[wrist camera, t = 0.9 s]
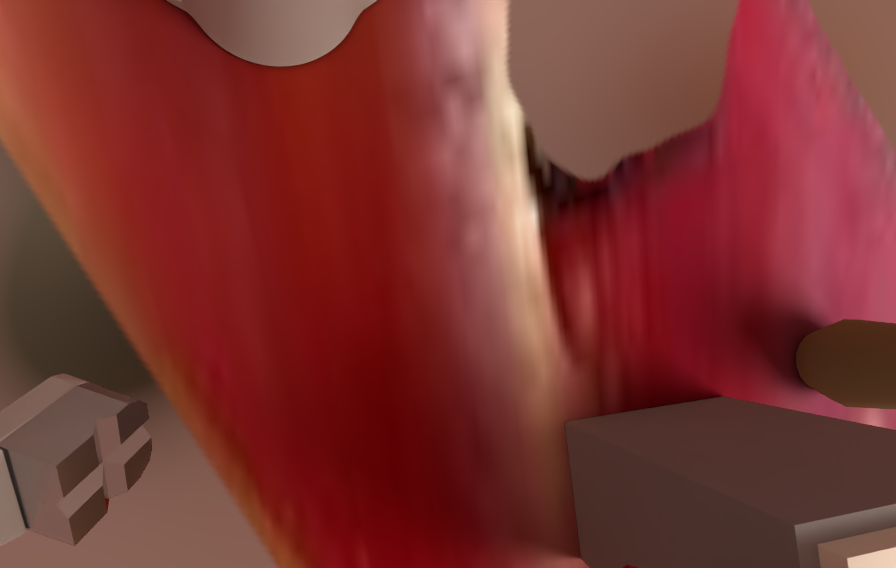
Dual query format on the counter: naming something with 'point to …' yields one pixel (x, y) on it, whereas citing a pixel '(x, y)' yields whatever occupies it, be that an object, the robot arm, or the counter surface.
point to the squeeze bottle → (851, 363)
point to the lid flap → (860, 551)
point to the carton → (726, 485)
